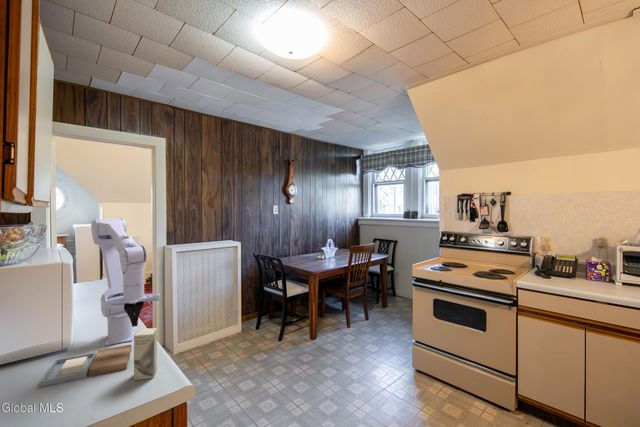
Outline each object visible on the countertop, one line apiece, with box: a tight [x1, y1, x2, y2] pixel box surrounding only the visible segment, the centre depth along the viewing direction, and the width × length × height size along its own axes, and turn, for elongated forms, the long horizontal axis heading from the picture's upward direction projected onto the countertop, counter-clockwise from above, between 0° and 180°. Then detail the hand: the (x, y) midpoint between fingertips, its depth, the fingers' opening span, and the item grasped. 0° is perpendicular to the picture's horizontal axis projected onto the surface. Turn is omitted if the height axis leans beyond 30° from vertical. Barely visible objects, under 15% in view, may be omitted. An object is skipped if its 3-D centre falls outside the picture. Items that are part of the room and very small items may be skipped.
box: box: [133, 327, 158, 381], centre depth 85 cm, size 5×4×13 cm
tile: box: [61, 356, 88, 376], centre depth 88 cm, size 5×5×2 cm
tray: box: [39, 352, 97, 388], centre depth 87 cm, size 12×10×2 cm
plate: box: [88, 344, 132, 378], centre depth 92 cm, size 12×9×2 cm
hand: (134, 325), depth 97 cm, fingers closed
